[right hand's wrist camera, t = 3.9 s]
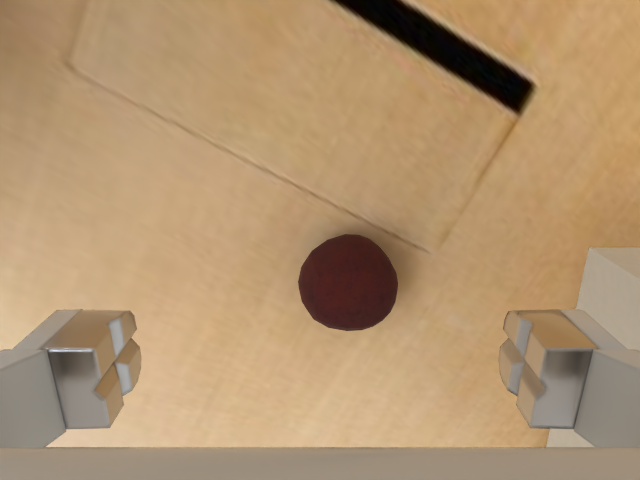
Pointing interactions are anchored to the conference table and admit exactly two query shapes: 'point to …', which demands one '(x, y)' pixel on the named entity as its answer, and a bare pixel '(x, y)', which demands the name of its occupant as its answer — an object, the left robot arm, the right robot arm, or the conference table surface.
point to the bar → (608, 308)
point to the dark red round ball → (348, 283)
